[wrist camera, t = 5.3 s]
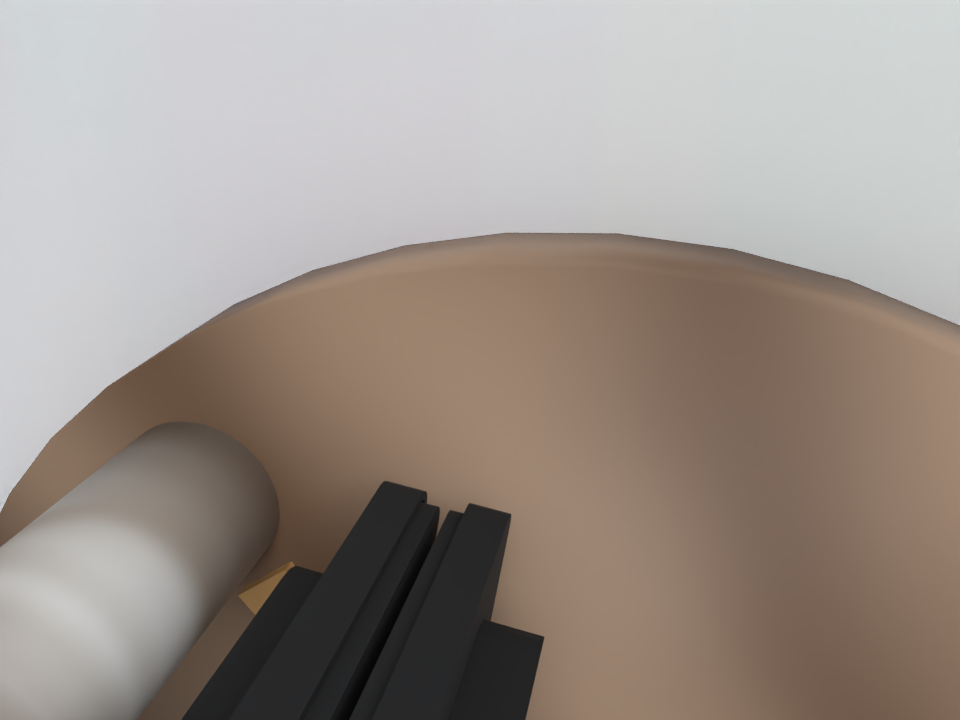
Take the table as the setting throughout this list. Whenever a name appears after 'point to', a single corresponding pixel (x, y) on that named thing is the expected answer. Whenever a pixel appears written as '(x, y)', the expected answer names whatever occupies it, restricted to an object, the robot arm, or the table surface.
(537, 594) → the turntable platter
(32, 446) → the table surface
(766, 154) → the table surface
